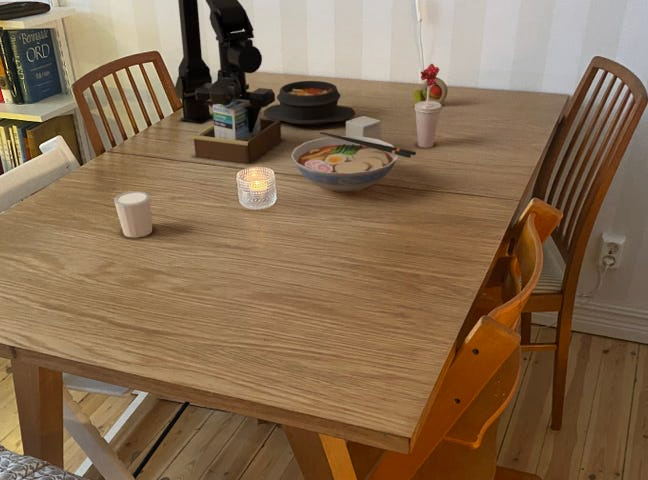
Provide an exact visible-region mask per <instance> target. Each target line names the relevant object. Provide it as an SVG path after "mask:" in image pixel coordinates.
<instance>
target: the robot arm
mask: <svg viewBox="0 0 648 480" xmlns="http://www.w3.org/2000/svg"><path fill="white" fill-rule="evenodd" d="M205 2H206V4H207V6H208V8H209V21H210V26H211V27H212V30H213V32H214V33H215V35H216V36H215V41H217V43H218V44H217V46H218V56H219V65H220V66H219V67H220V69H218V70H217V79H216V81H214V82H213V78H212V75H211V69H210V67H209V66H208V65H207V64H206V62H205V60H204V59H203V54H202V53H203V52H202V43H201V29H200V16H199V2H198V0H177V3H178V12H179V14H178V15H179V22H180V23H179V24H180V34H181V35H180V36H181V45H182V54H183V56H182V59H181V61H180V63H179V66H178V68H177V69H178V71H177V72H178V76H177V79H176V82H175V86H174V92H175V96H176V98H178V99H179V100H181V108H182V115H183V117H180V121H182V122H187V123H188V122H190V123H198V124H201V123H203V122H205V121H206V120H209V118H212V116H213V113H212V114H211V112H210V108H212V109H213V105H214V104H215V105H216V104H222V105H224V106H227V105H229V104H230V103H231V101H232V99H236V100H237V99H241V100H249V103H250V105H248V106H246V107H245V108H246V110H247V111H248V126H249V132H250V133H252V132H253V129H254V126H255V123H256V121H257V117H258V115H259V112H260V113H261V110H262V108H266V107H268V106H270V105H271V104H273V103H274V102H275V101H276V93H275V92H274V90H273V89H272V88H264V87H258V88H256V89H255V90H253V91H248V90H250V84H249V83H247V76H246V74H254V73H255V72H257V71H258V70H259V69H260V67H261V65H262V62H263V55H262V53H261V51H260V49H259V48H257V47H256V46H254V43H253V41H254V40H253V39H254V38H255V35H254V28H253V27H254V26H253V25H252V23H251V20H250V18H249V16H248V14H247V11H246V9H245V8H244V6H243V5H242V4H241V2H240V1H239V0H205ZM241 95H242V96H241Z"/></svg>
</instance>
